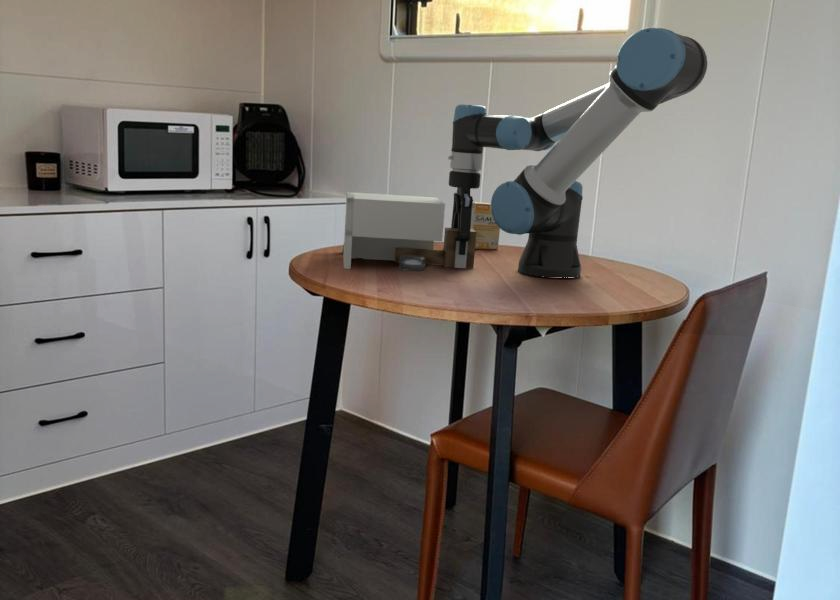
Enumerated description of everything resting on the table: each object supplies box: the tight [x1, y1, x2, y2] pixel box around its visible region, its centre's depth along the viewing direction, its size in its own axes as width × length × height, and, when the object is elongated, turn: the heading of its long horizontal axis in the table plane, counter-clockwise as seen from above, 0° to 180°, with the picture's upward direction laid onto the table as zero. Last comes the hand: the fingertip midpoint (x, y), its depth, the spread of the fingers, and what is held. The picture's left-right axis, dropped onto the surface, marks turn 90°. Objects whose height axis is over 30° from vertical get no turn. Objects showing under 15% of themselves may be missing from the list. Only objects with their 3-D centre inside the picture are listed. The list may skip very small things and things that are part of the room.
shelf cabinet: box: [342, 191, 446, 270], centre depth 188 cm, size 22×16×16 cm
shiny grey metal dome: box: [398, 254, 426, 272], centre depth 187 cm, size 6×6×3 cm
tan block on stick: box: [394, 227, 476, 269], centre depth 194 cm, size 19×5×9 cm, turn 96°
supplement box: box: [471, 201, 501, 251], centre depth 227 cm, size 8×5×13 cm, turn 102°
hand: (457, 264), depth 196 cm, fingers open, 7 cm apart
